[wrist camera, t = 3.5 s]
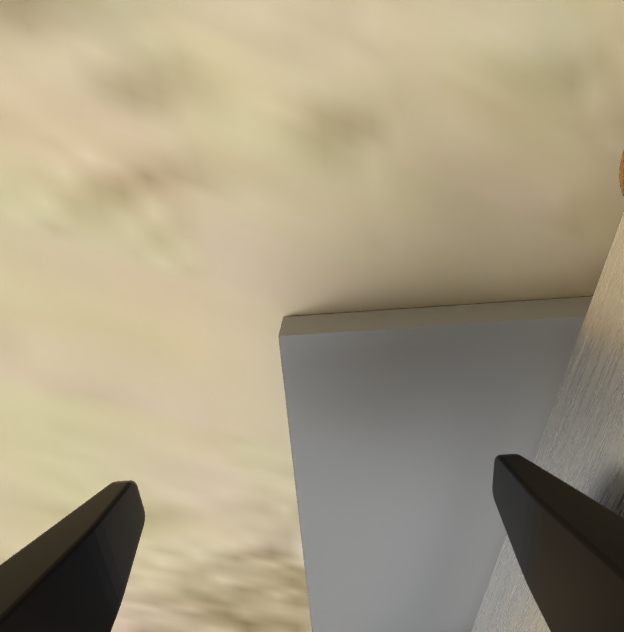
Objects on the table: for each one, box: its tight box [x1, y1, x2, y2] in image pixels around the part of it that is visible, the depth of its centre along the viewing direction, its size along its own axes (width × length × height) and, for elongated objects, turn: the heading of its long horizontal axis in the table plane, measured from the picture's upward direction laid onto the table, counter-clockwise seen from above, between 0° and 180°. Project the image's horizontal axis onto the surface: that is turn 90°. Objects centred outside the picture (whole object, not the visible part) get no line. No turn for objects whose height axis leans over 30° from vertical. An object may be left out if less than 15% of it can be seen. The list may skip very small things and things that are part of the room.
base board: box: [279, 296, 593, 632], centre depth 14 cm, size 18×16×2 cm
